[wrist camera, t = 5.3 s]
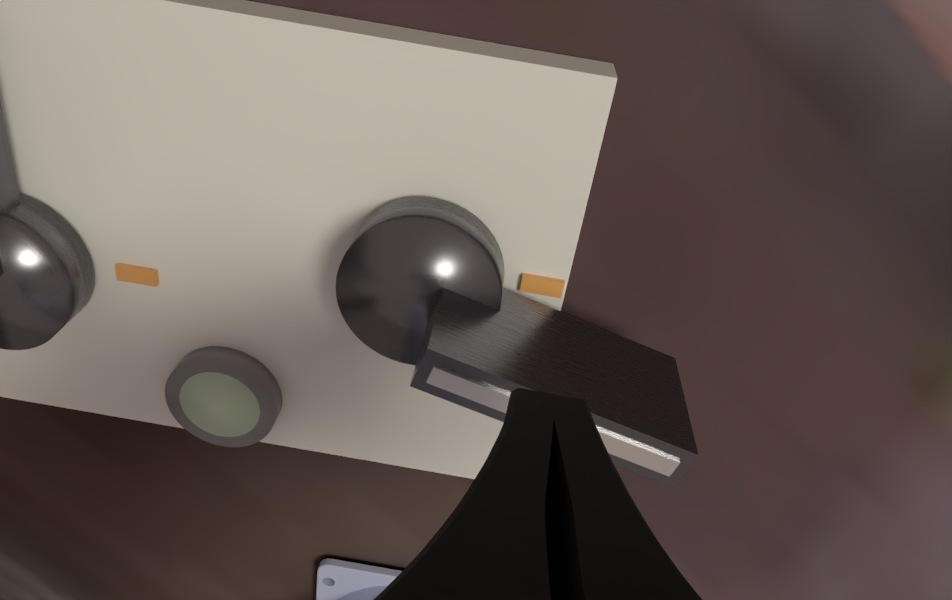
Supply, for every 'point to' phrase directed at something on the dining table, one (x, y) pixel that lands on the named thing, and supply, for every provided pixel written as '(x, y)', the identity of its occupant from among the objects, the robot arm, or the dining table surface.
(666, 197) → the dining table surface
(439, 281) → the knob
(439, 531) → the robot arm
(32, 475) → the dining table surface
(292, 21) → the base
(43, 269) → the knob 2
